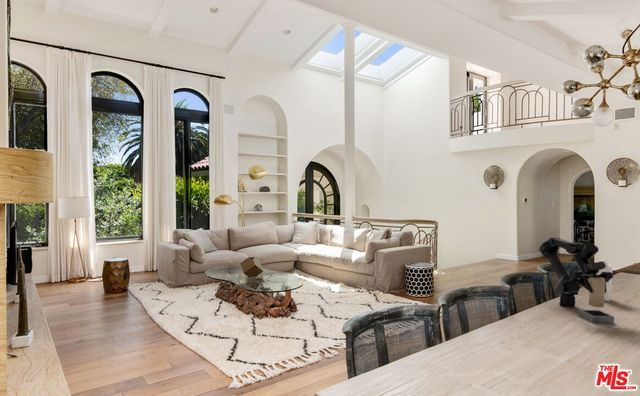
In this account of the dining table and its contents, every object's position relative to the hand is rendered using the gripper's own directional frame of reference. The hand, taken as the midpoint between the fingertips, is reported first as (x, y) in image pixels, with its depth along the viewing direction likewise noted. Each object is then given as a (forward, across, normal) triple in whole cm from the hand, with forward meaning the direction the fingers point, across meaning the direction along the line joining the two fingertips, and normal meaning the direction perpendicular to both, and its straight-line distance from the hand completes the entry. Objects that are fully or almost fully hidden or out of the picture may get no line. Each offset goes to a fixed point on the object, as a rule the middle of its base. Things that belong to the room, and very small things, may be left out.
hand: (599, 292), depth 192 cm
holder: (+8, 0, +10) cm, 13 cm away
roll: (+4, 0, +6) cm, 7 cm away
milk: (-16, +30, +35) cm, 49 cm away
